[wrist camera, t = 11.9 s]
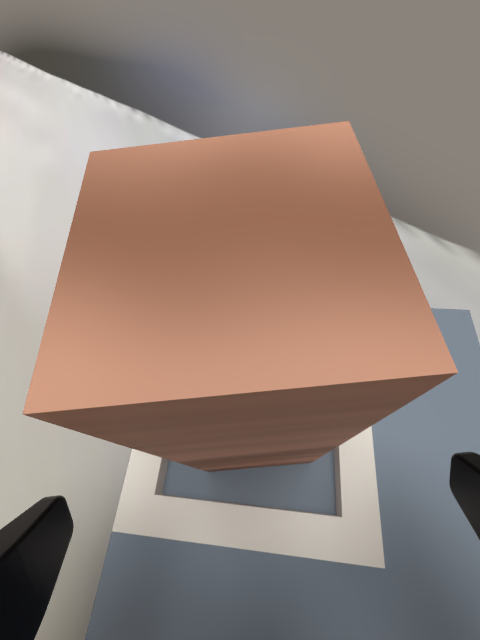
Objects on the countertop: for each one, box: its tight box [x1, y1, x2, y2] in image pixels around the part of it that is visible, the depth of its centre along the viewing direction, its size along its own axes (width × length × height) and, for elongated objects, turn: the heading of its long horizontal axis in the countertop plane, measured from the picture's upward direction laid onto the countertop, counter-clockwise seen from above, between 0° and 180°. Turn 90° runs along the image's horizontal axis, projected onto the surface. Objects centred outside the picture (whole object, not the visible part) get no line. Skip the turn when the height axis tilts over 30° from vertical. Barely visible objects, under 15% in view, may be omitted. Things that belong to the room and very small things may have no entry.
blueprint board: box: [85, 308, 480, 640], centre depth 14 cm, size 22×18×2 cm
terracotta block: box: [23, 121, 458, 472], centre depth 10 cm, size 5×5×13 cm
